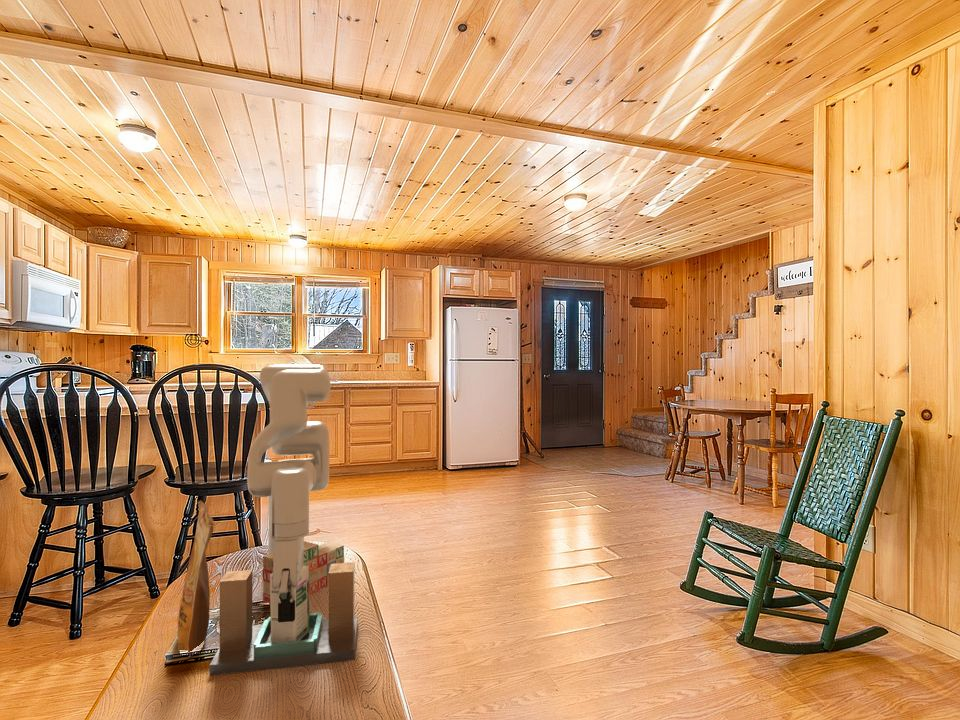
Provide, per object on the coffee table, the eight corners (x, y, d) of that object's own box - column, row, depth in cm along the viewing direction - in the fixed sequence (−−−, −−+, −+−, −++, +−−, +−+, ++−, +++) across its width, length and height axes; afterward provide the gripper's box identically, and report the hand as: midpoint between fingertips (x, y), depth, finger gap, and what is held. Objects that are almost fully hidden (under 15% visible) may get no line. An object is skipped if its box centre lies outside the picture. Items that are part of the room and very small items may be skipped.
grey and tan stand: (230, 636, 111) (230, 563, 111) (357, 624, 116) (357, 554, 116) (209, 675, 97) (209, 592, 97) (354, 659, 102) (354, 580, 102)
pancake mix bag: (214, 614, 120) (214, 496, 120) (213, 656, 103) (213, 519, 103) (181, 621, 117) (181, 500, 117) (174, 665, 100) (175, 524, 100)
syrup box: (295, 646, 103) (295, 574, 104) (269, 643, 105) (269, 572, 105) (310, 631, 109) (310, 563, 109) (284, 628, 110) (285, 561, 110)
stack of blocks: (328, 573, 144) (328, 530, 144) (344, 578, 141) (344, 534, 141) (262, 604, 126) (262, 555, 126) (278, 611, 123) (278, 560, 123)
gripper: (279, 515, 115) (279, 594, 115) (261, 543, 98) (261, 635, 98) (314, 513, 116) (314, 591, 116) (302, 540, 99) (302, 631, 99)
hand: (290, 610), depth 107 cm, fingers open, 7 cm apart
